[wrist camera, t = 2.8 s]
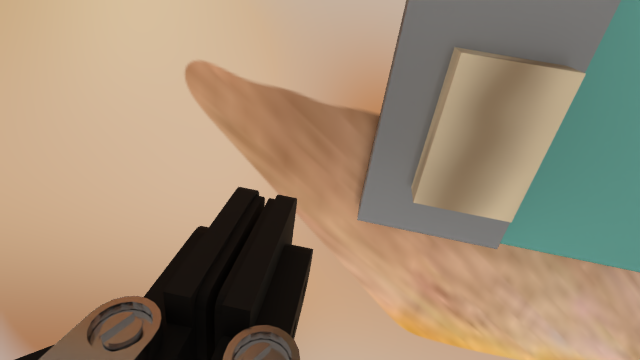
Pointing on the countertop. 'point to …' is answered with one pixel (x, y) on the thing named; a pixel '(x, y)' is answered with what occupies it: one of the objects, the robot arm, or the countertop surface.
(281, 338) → the robot arm
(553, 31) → the board
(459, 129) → the tile
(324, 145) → the countertop surface
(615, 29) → the mat
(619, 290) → the countertop surface
